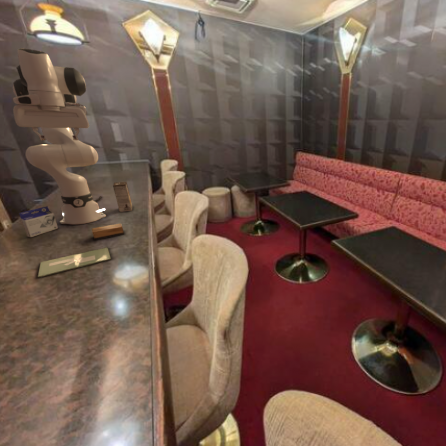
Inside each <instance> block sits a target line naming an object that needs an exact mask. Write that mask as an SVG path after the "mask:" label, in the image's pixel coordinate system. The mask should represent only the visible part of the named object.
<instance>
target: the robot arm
mask: <svg viewBox="0 0 446 446" xmlns="http://www.w3.org/2000/svg"><path fill="white" fill-rule="evenodd" d="M17 57H18V63H19V65H17V66H16V70H17V73H18V77H19V78H18V79H15V80H14V82H13V84H12V92H13V94H14V96H15V97H13V98H12V101H13V103H14V104H15V105H14V106H13V109H12V113H13V118H14V121H15V122H14V123H15V124H16V125H17V126H18V127H20V128H31V129H32V131H33V133H35V134H36V135H37V136H38V137H39V141H47V142H49V143H50V144H48V143H47V144H43V143H42V144H36V145H31V146H30V145H29V147H27V149H25V158H26V160H27V162H28V163H29V164H30V165H32V166H33V167H35V168H36V169H39V170H41V171H44V172H45V173H46V174H48V175H49V176H51V178H53V180H54V181H55V182H56V184H57V187H58V188H59V193H60V195H61V196H60V198H61V201H62V205H61V207H60V211H61V214H62V217H63V218H61V220H60V221H59V223H60V225H83V224H88V223H92V222H96V221H99V220H100V219H104V218H105V217H107V215H106V214H105V213H103V211H106V208H105V207H104V208H100V207H99V204H98V201H100V200H101V199H102V195H100V196H99V198H98V199H95V200H94V197H93V194H92V193H91V190H90V188H89V184H88V181H87V179H86V177H84V176H83V175H81V174H77V173H73V172H70V171H68V170H67V169H68V168H82V167H88V166H93V165H96V164H97V163H98V161H99V154H98V152H97V150H96V149H95V148H94V147H93V146H92V145H89V144H87V143H84V142H82V141H81V140H79V137H78V136H79V134H80V129H89V128H90V123H89V120H88V118H87V115H88V111H87V108H86V107H85V106H84V105H83V104H81V103H79V102H77V101H78V99H77V97H81V96H83V95H85V93H86V91H87V84H86V80H85V78H84V76H83V74H82V73H81V72H80V71H78V70H77V69H76V68H74V67H68V66H67V67H64V66H57V65H54V64H53V63H52V60H51V58H50V55H48V53H47V52H44V51H42V50H36V49H30V48H25V47H23V48H22V47H21V48H18V49H17ZM39 128H40V129H41V133H42V134H41V133H40V132H38V131H39ZM72 129H73V130H74V132H75V133H74V132H73V130H72Z"/></svg>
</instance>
